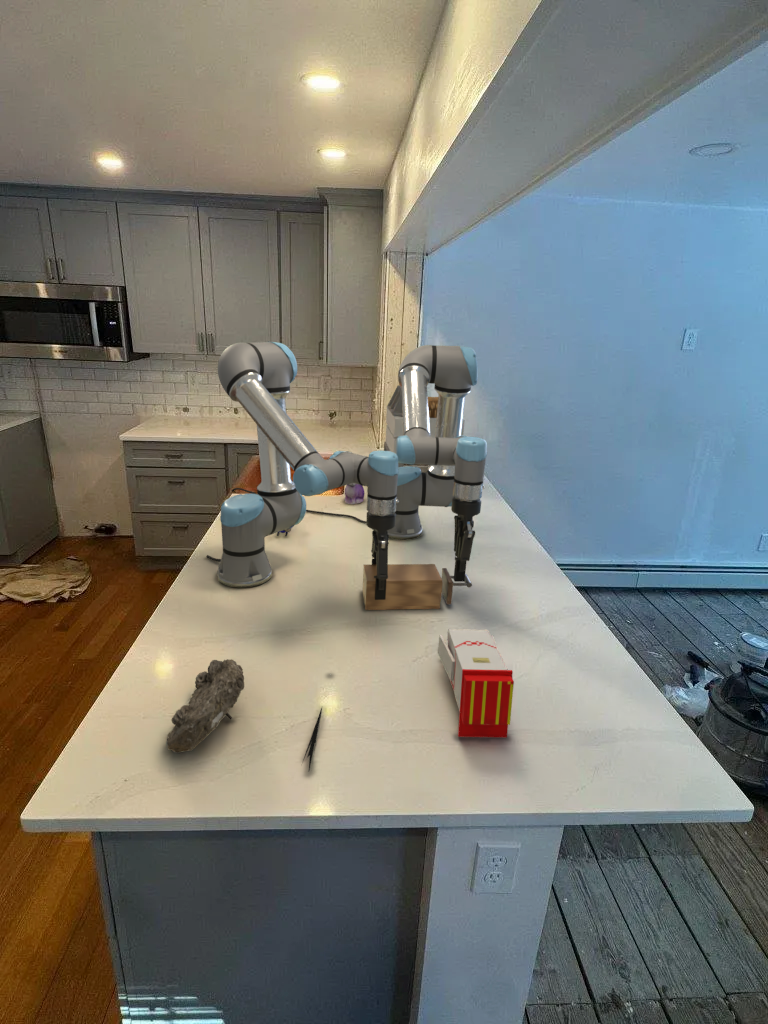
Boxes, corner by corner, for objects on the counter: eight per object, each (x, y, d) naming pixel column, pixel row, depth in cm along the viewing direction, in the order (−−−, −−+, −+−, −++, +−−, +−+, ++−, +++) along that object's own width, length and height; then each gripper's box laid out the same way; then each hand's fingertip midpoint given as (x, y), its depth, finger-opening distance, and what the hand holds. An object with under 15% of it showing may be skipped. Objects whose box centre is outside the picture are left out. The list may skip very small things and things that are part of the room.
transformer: (382, 463, 289) (386, 382, 275) (445, 464, 293) (451, 384, 279) (390, 482, 257) (394, 392, 243) (460, 483, 261) (468, 394, 247)
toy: (488, 613, 130) (523, 677, 101) (484, 667, 133) (517, 744, 104) (435, 612, 130) (455, 676, 101) (432, 666, 133) (451, 743, 103)
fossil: (192, 660, 117) (244, 628, 112) (224, 691, 120) (276, 661, 115) (142, 746, 98) (202, 712, 93) (182, 779, 101) (242, 748, 96)
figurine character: (291, 542, 192) (296, 522, 205) (290, 522, 188) (296, 503, 202) (271, 542, 191) (278, 521, 205) (270, 522, 188) (277, 502, 201)
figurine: (348, 506, 225) (349, 469, 220) (338, 498, 233) (339, 463, 228) (369, 503, 229) (371, 467, 224) (359, 496, 237) (360, 461, 232)
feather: (331, 679, 122) (336, 673, 122) (307, 777, 96) (313, 769, 95) (324, 675, 122) (329, 669, 121) (298, 772, 95) (304, 764, 95)
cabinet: (432, 591, 160) (435, 563, 157) (439, 608, 151) (442, 580, 148) (362, 592, 158) (363, 564, 155) (365, 610, 149) (366, 580, 146)
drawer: (464, 588, 160) (466, 567, 158) (471, 604, 152) (474, 582, 150) (378, 589, 158) (379, 568, 155) (382, 605, 149) (383, 583, 147)
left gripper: (402, 527, 135) (397, 610, 143) (390, 497, 156) (387, 570, 164) (370, 528, 134) (367, 610, 142) (363, 497, 155) (361, 571, 163)
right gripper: (488, 505, 141) (478, 591, 148) (474, 490, 153) (466, 570, 161) (458, 505, 140) (450, 591, 147) (447, 490, 152) (440, 570, 160)
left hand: (378, 589), depth 153 cm, fingers closed on cabinet, 10 cm apart
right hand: (459, 580), depth 154 cm, fingers closed
